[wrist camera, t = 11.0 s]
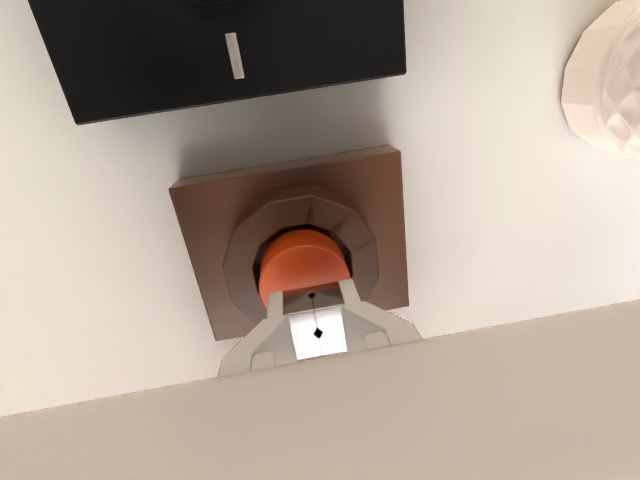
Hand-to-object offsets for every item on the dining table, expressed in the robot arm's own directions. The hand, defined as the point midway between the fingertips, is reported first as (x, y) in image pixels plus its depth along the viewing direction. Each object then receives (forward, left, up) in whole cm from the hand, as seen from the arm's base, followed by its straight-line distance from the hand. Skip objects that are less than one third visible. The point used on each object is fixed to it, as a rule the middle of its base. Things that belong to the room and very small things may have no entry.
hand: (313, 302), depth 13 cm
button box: (0, 0, -6) cm, 6 cm away
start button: (0, 0, -3) cm, 3 cm away
